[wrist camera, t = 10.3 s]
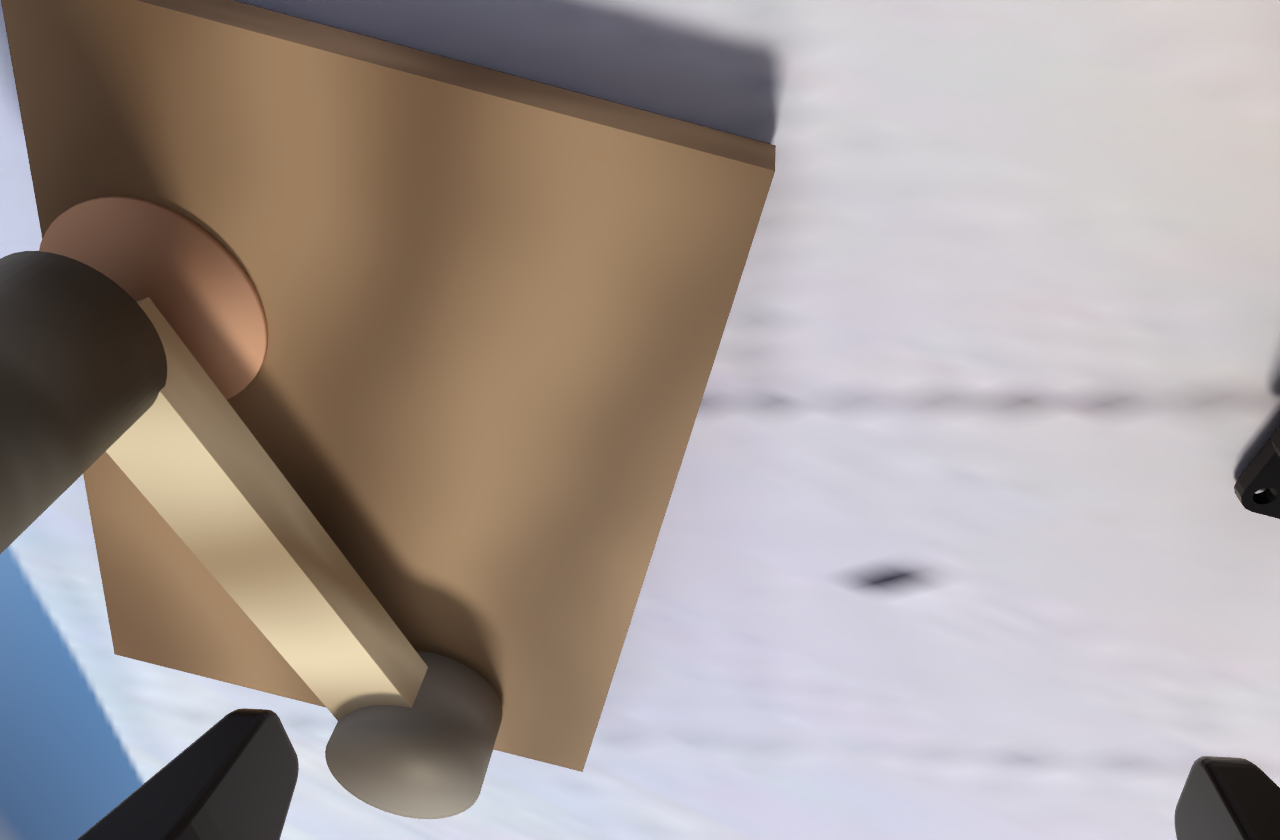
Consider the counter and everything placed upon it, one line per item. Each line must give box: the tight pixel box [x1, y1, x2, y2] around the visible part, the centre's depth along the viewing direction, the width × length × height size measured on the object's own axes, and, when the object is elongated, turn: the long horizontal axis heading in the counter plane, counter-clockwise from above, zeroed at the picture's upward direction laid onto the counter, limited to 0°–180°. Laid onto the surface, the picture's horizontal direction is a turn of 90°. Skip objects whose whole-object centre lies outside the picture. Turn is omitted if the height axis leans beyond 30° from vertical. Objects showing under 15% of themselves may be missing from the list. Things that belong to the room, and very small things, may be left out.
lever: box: [0, 251, 502, 819], centre depth 21 cm, size 18×4×8 cm, turn 23°
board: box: [1, 0, 776, 772], centre depth 23 cm, size 15×20×2 cm
